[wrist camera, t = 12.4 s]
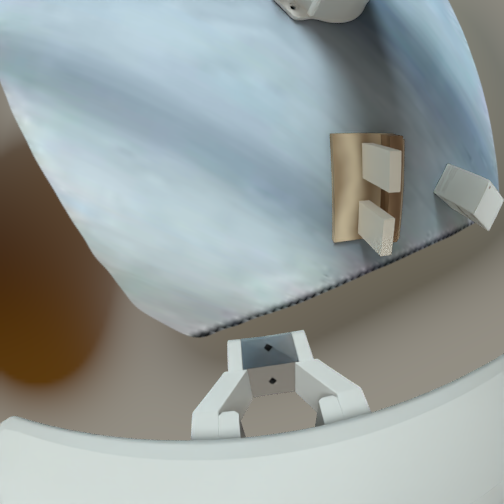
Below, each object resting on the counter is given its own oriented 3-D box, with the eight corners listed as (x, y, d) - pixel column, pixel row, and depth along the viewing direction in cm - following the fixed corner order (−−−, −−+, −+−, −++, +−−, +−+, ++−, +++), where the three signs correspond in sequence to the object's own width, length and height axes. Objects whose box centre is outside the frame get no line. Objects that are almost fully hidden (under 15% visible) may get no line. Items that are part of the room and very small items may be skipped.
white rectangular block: (357, 233, 49) (380, 256, 41) (359, 201, 46) (383, 219, 38) (367, 231, 49) (391, 254, 41) (369, 200, 46) (395, 218, 38)
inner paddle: (362, 178, 44) (388, 192, 36) (361, 142, 42) (389, 150, 34) (372, 177, 44) (400, 192, 36) (372, 142, 42) (401, 150, 34)
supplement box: (431, 192, 48) (472, 214, 37) (447, 162, 45) (490, 178, 34) (450, 208, 50) (488, 232, 39) (464, 180, 47) (505, 199, 36)
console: (332, 239, 51) (340, 250, 47) (329, 133, 42) (338, 135, 39) (389, 232, 51) (399, 241, 47) (392, 133, 43) (405, 136, 39)
